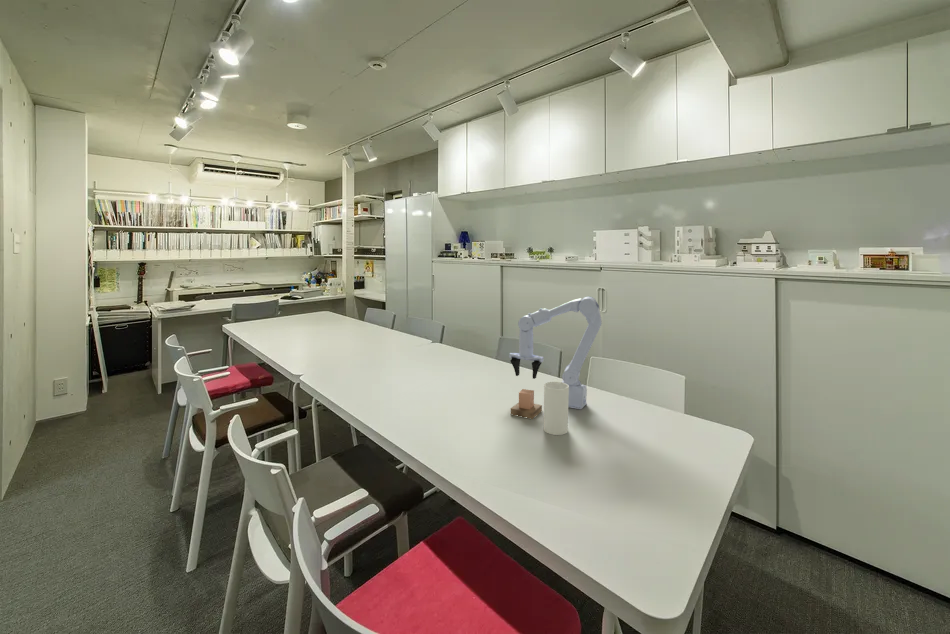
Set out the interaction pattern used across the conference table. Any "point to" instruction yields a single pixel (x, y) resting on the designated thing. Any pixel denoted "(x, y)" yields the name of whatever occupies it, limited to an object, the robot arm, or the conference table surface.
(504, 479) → the conference table surface
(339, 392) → the conference table surface
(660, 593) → the conference table surface
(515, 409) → the base slab
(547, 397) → the cup
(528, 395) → the block
